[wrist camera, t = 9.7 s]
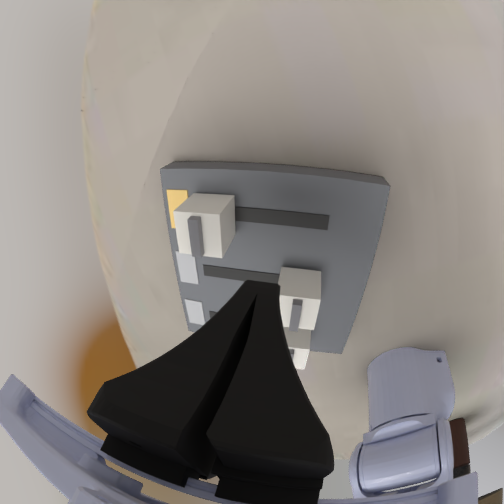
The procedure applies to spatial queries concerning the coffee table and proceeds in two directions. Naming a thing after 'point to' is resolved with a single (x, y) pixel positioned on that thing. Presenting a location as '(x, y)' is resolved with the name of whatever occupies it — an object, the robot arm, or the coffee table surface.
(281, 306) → the switch
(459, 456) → the lamp
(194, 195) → the switch
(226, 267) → the switch unit
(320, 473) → the robot arm
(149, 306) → the coffee table surface
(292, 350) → the switch
